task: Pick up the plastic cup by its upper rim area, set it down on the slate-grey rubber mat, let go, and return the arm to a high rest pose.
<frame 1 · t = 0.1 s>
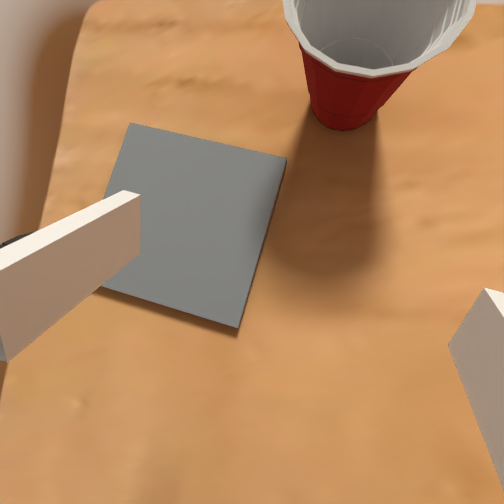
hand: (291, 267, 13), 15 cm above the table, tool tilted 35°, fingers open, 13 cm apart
plastic cup: (343, 105, 30), on the table
rest mat: (183, 220, 30), on the table
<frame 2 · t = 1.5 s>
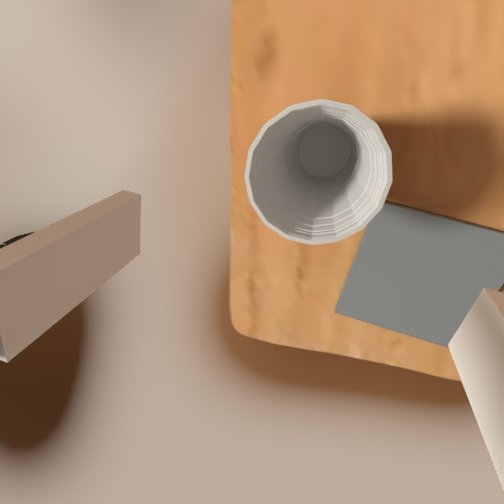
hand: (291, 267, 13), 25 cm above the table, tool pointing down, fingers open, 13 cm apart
plastic cup: (326, 151, 35), on the table
rest mat: (419, 277, 38), on the table
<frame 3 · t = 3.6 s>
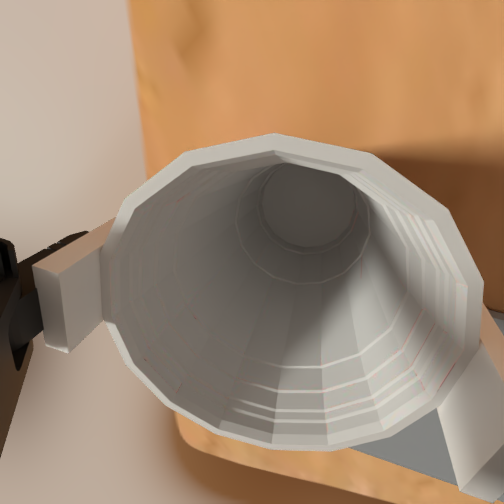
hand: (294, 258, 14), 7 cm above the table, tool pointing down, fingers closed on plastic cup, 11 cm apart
plastic cup: (311, 203, 20), on the table, touching gripper
rest mat: (468, 403, 23), on the table
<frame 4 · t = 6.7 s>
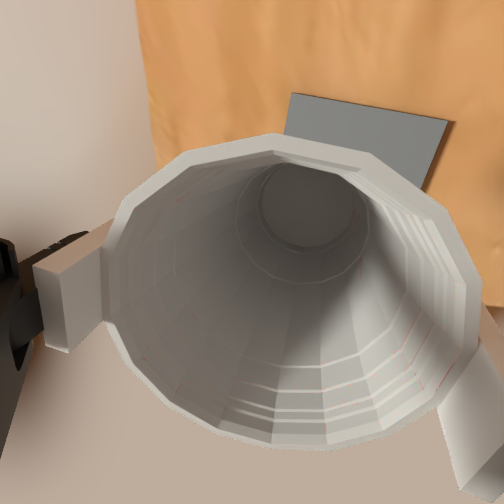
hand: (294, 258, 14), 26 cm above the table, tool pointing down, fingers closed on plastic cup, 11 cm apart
plastic cup: (310, 203, 20), point 18 cm above the table, touching gripper
rest mat: (345, 179, 37), on the table
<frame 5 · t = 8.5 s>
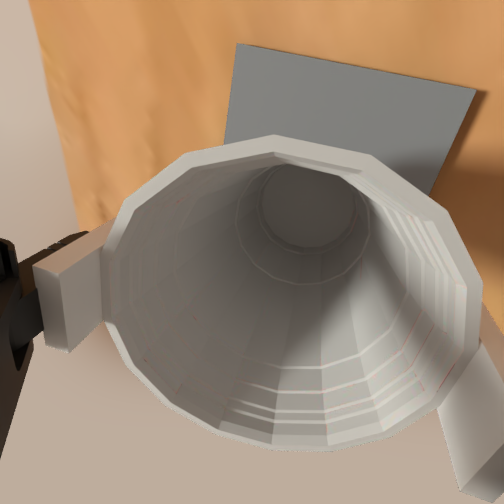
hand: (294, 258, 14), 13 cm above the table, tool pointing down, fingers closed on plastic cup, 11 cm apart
plastic cup: (311, 204, 20), point 6 cm above the table, touching gripper
rest mat: (319, 178, 25), on the table
when the fingers open (8 cm above the table, at t = 10.1 s): plastic cup stays where it is, resting on rest mat.
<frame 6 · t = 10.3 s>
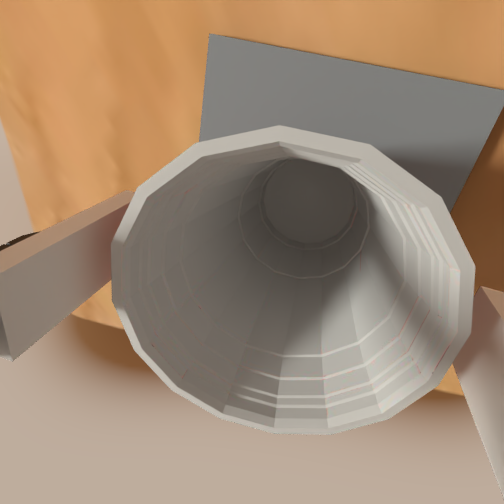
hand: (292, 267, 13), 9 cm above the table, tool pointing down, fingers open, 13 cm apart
plastic cup: (312, 200, 20), point 1 cm above the table, touching rest mat
rest mat: (312, 197, 21), on the table
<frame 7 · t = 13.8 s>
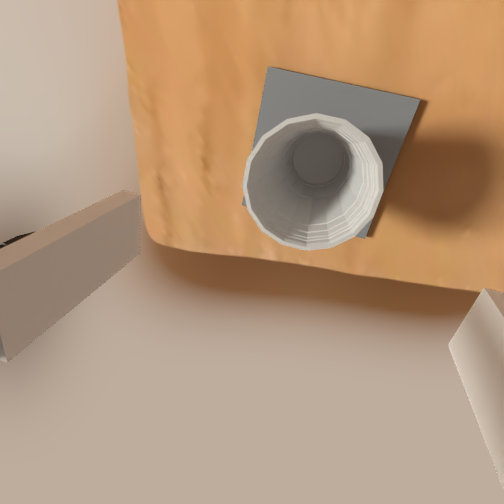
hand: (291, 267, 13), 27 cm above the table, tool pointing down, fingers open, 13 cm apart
plastic cup: (320, 158, 36), point 1 cm above the table, touching rest mat
rest mat: (320, 157, 37), on the table
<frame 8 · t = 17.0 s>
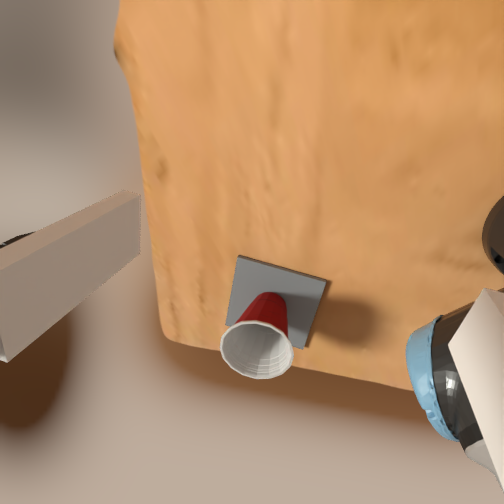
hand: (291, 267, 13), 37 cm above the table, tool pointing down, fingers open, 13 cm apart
plastic cup: (271, 304, 58), point 1 cm above the table, touching rest mat
rest mat: (272, 302, 59), on the table
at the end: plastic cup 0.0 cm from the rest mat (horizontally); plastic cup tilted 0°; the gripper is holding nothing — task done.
